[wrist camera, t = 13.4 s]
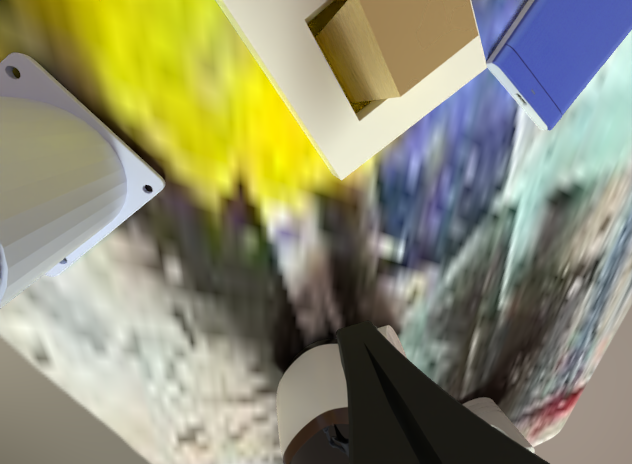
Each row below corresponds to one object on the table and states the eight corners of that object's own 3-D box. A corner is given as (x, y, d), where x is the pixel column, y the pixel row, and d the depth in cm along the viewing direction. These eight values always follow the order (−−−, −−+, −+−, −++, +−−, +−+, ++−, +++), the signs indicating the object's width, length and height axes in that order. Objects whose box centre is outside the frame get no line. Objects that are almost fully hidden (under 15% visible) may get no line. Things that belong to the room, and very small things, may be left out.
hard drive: (660, -176, 13) (497, 61, 16) (695, -46, 16) (554, 130, 19) (621, -148, 14) (478, 65, 18) (660, -33, 18) (534, 129, 21)
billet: (350, 102, 16) (400, 96, 11) (315, 37, 14) (355, -9, 9) (401, 61, 16) (478, 35, 10) (372, -11, 14) (448, -87, 9)
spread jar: (262, 379, 25) (272, 567, 14) (324, 293, 22) (390, 448, 12) (353, 396, 30) (408, 545, 19) (412, 328, 27) (513, 458, 17)
